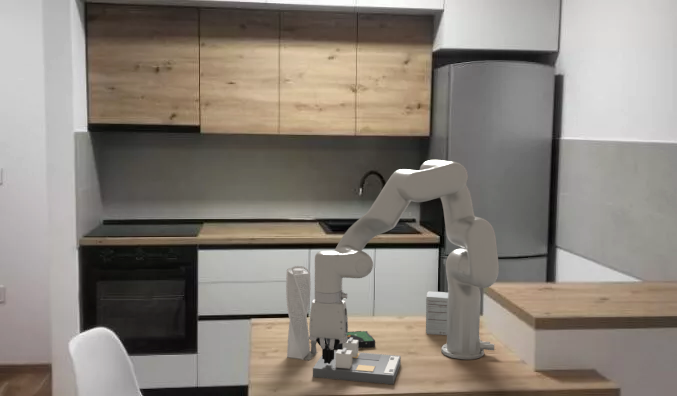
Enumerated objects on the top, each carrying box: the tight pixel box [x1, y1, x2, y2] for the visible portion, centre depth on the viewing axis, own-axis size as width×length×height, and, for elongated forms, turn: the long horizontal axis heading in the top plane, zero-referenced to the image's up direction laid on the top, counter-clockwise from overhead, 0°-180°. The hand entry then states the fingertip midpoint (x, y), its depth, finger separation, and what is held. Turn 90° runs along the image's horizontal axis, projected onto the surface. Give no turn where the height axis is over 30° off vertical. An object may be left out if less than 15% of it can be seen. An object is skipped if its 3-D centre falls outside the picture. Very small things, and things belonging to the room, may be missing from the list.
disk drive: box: [327, 330, 376, 351], centre depth 204 cm, size 10×3×15 cm
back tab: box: [343, 337, 359, 357], centre depth 186 cm, size 4×3×5 cm
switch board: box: [312, 350, 402, 385], centre depth 182 cm, size 22×15×3 cm
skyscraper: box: [285, 265, 319, 361], centre depth 192 cm, size 8×8×28 cm
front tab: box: [336, 348, 352, 369], centre depth 178 cm, size 4×3×5 cm
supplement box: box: [425, 290, 448, 336], centre depth 216 cm, size 7×7×13 cm
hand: (328, 361), depth 179 cm, fingers closed
